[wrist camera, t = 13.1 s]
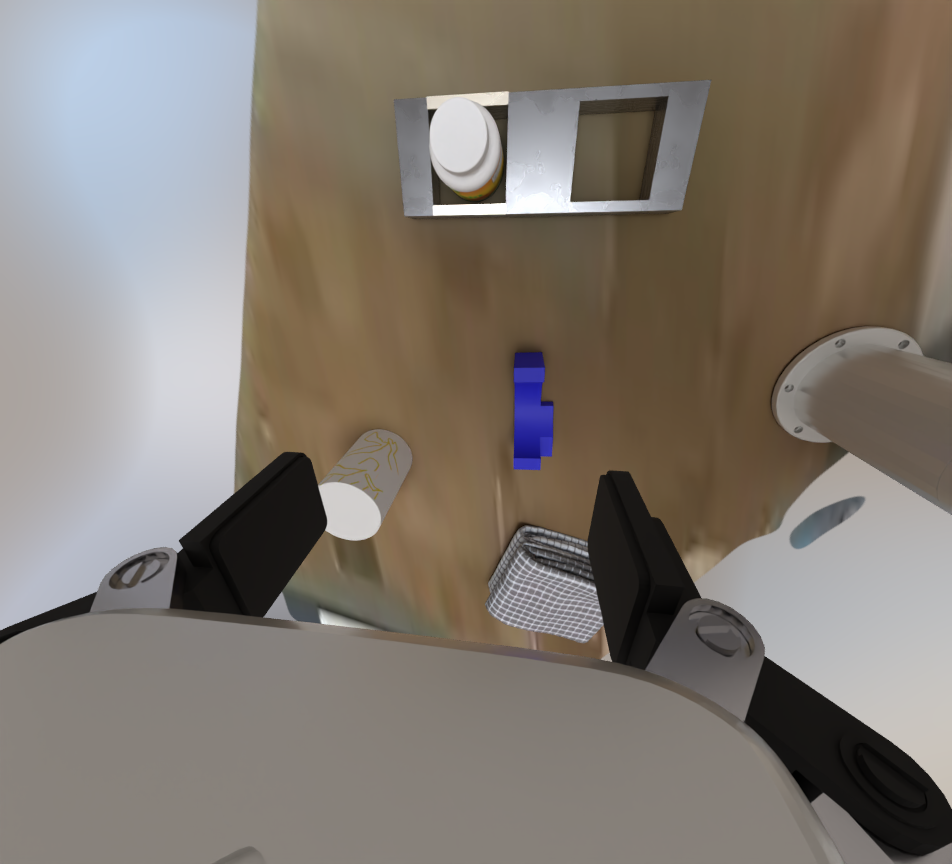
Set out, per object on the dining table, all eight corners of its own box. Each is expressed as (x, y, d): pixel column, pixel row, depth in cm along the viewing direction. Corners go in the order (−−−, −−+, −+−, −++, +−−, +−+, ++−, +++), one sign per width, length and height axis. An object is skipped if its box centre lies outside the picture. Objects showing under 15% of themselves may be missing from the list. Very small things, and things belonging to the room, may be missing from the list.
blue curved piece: (550, 444, 44) (553, 470, 39) (514, 443, 45) (513, 469, 39) (555, 351, 39) (560, 367, 33) (515, 352, 39) (514, 367, 34)
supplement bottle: (441, 193, 33) (412, 172, 24) (453, 121, 30) (426, 69, 22) (495, 210, 33) (485, 195, 24) (512, 140, 30) (508, 95, 22)
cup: (415, 437, 46) (384, 493, 35) (408, 484, 50) (378, 547, 39) (357, 422, 46) (307, 474, 35) (354, 471, 50) (309, 530, 39)
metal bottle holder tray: (693, 96, 28) (712, 78, 25) (668, 213, 31) (682, 209, 29) (405, 112, 30) (393, 98, 27) (413, 219, 34) (403, 216, 31)
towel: (518, 516, 50) (517, 558, 44) (633, 553, 51) (651, 601, 44) (486, 580, 58) (481, 624, 51) (587, 612, 58) (596, 660, 51)
